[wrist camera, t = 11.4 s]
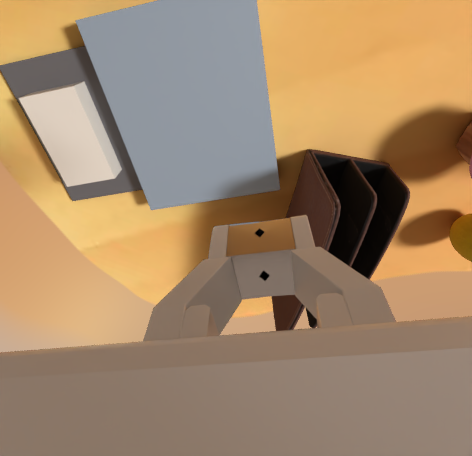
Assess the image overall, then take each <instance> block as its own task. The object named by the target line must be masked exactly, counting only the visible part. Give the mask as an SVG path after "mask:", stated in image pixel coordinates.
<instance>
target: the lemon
mask: <svg viewBox="0 0 472 456" xmlns="http://www.w3.org/2000/svg"><path fill="white" fill-rule="evenodd" d="M449 237H450V241H451V243H452V245H453V247H454V248H455V250H456V251H457V252H458V253H459V254H460V255H461V256H463V257H464V258H466V259H467V260H469V261H471V262H472V214H467V215H464V216H462V217H460V218H458V219H457V220H456V221H455V222H454V223H453V224H452V226H451V228H450V232H449Z"/></svg>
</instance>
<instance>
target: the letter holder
mask: <svg viewBox="0 0 472 456" xmlns="http://www.w3.org/2000/svg"><path fill="white" fill-rule="evenodd" d="M409 198H410V191H409V188H408V187H407V186H406V185H405V184H404V183H403V181H402V180H401V179H400V178H399V177H398V175H397V174H396V173H395V172H394V171H393V169H392V168H391V167H390V165H389V164H388V163H385V162H379V161H373V160H368V159H362V158H357V157H351V156H346V155H341V154H335V153H330V152H324V151H318V150H312V149H310V150H307V152H306V155H305V159H304V162H303V166H302V169H301V172H300V175H299V179H298V182H297V185H296V188H295V191H294V194H293V197H292V200H291V203H290V206H289V210H288V212H287V216H286V218H290V217H295V216H302V215H306V216H307V217H308V221H309V225H310V229H311V232H312V236H313V240H314V244H315V247H321V248H323V249H324V250H326V251H327V252H329V253H330V254H332V255H333V256H335V257H336V258H338V259H339V260H341V261H342V262H344V263H345V264H347V265H348V266H349V267H351V268H352V269H354V270H355V271H357V272H358V273H360V274H361V275H363V276H364V277H366V278H367V279H369V280H370V278H371V276H372V275H373V273H374V271H375V269H376V268H377V266H378V264H379V262H380V261H381V259H382V257H383V255H384V253H385V252H386V250H387V248H388V246H389V244H390V242H391V240H392V238H393V236H394V234H395V232H396V230H397V228H398V226H399V224H400V222H401V219H402V217H403V215H404V213H405V210H406V208H407V205H408V202H409ZM272 303H273V312H274V319H275V327H276V331H284V330H293V329H294V327H295V325H296V324H297V322H298V320H299V318H300V316H301V314H302V312H303V310H304V308H305V306H304V305H303V304H302V303H301V302H300V300H299V299H298V298H297V297H296V296H295V295H282V296H272ZM306 311H307V316H308V321H309V325H310V327H312V328H316V327H317V319H316V318H315V317H314V316H313V315H312V314H311V313H310V311H309V310H308V309H307V308H306Z"/></svg>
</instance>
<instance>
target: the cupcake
mask: <svg viewBox="0 0 472 456" xmlns="http://www.w3.org/2000/svg"><path fill="white" fill-rule="evenodd" d="M456 148H457V149H458V151H459V153H460V155H461V156H462V157H463V158H464V160H465V161H466V162H467V163H468V164H469V165H470V167H469V171H470V175H471V178H472V121H471V123H470V124H469V125H468V127H467V128H466V130H465V132H464V133H463V134H462V136H461V137H460V139H459V141H458V143H457V145H456Z"/></svg>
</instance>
